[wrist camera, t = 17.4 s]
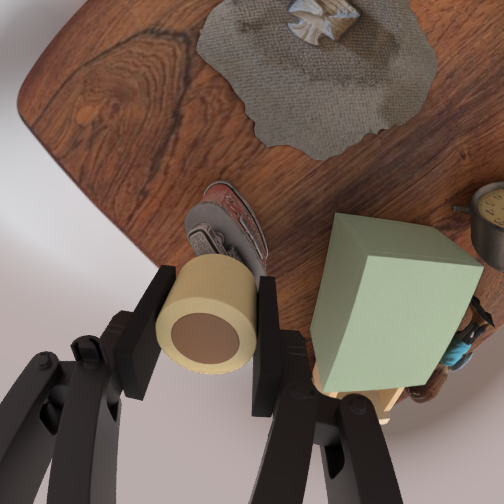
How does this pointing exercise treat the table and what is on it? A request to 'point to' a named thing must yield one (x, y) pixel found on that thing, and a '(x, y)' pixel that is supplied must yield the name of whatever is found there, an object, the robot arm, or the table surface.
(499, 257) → the alarm clock
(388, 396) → the drawer
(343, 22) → the grey stone sculpture
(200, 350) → the tape
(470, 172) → the table surface
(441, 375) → the figurine
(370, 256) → the cabinet
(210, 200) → the lighter
